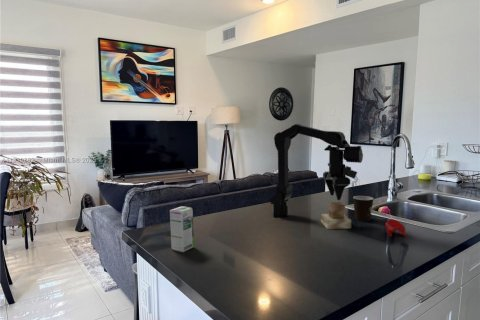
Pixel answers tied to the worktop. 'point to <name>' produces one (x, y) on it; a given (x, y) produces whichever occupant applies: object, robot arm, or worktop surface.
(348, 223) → the birch block
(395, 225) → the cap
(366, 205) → the coffee mug
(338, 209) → the walnut block
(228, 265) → the worktop surface
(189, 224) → the syrup box
